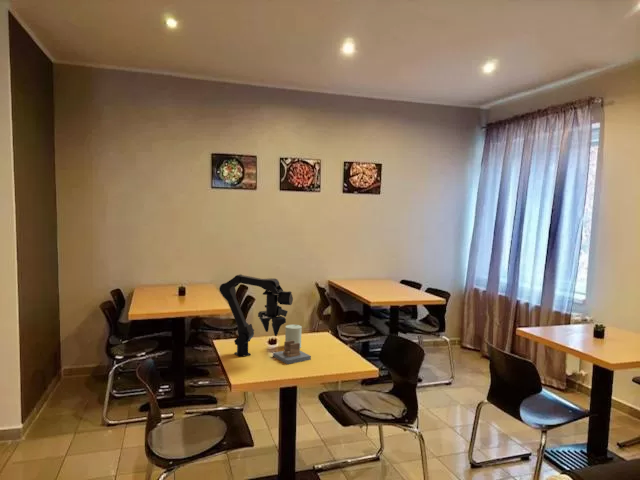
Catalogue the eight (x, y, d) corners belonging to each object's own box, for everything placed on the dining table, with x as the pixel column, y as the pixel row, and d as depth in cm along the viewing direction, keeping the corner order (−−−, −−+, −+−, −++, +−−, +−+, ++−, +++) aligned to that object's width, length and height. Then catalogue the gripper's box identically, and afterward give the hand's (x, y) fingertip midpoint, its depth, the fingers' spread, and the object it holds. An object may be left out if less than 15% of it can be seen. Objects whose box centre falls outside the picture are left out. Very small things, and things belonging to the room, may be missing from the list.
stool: (283, 353, 234) (283, 341, 234) (293, 351, 238) (293, 339, 237) (290, 357, 229) (290, 345, 228) (300, 355, 232) (300, 343, 232)
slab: (273, 356, 235) (273, 352, 235) (295, 352, 243) (295, 348, 243) (287, 364, 224) (287, 360, 224) (310, 359, 232) (310, 355, 232)
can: (304, 346, 254) (305, 325, 253) (294, 350, 246) (295, 328, 246) (291, 343, 259) (291, 322, 258) (281, 347, 251) (281, 325, 251)
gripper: (295, 305, 228) (294, 335, 229) (276, 299, 243) (275, 327, 244) (276, 307, 222) (275, 339, 223) (257, 300, 237) (257, 330, 238)
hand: (271, 333), depth 232 cm, fingers open, 9 cm apart
